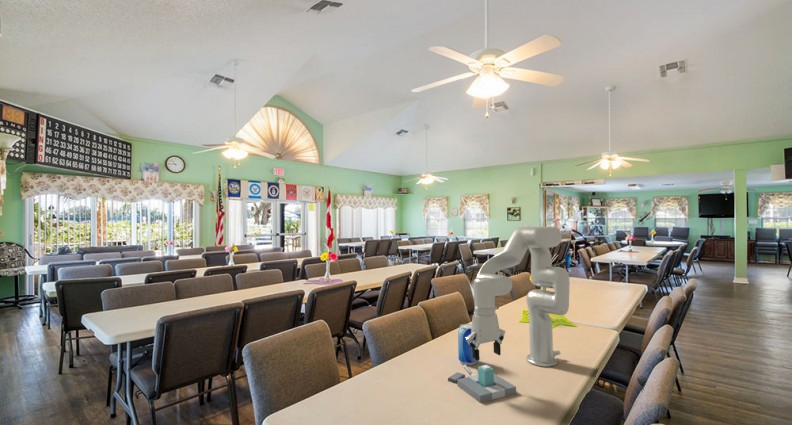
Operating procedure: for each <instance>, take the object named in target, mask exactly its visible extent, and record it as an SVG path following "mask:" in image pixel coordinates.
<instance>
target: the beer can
mask: <svg viewBox="0 0 792 425" xmlns="http://www.w3.org/2000/svg"><path fill="white" fill-rule="evenodd" d="M471 327H472V323H462V324H460V325H459V328H458V330H457V333H458V334H457V336H458V339H457V342H458V347H457V348H458V360H459V362H460V363H461V365H466V366H475V365H476V364H477V362H478V361H477V360H476V359H474V358H473V354H472V348H471V346H470V345H469V344H468V342H467V340H466V337H468V336H469V335H470V334H471ZM473 341H474V340H472V342H473ZM477 341H478V340H477ZM476 344H477V342H476ZM476 344H475V345H476Z"/></svg>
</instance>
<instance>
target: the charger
mask: <svg viewBox="0 0 792 425" xmlns="http://www.w3.org/2000/svg"><path fill="white" fill-rule="evenodd" d="M494 371H495V370H494V368H493V367H491V366H490V365H488V364H484V365H479V366H478V367H477V375H478V384H480V385H481V386H483V387H484V388H485V387H489V386H493V385H494V374H495V372H494Z"/></svg>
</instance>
